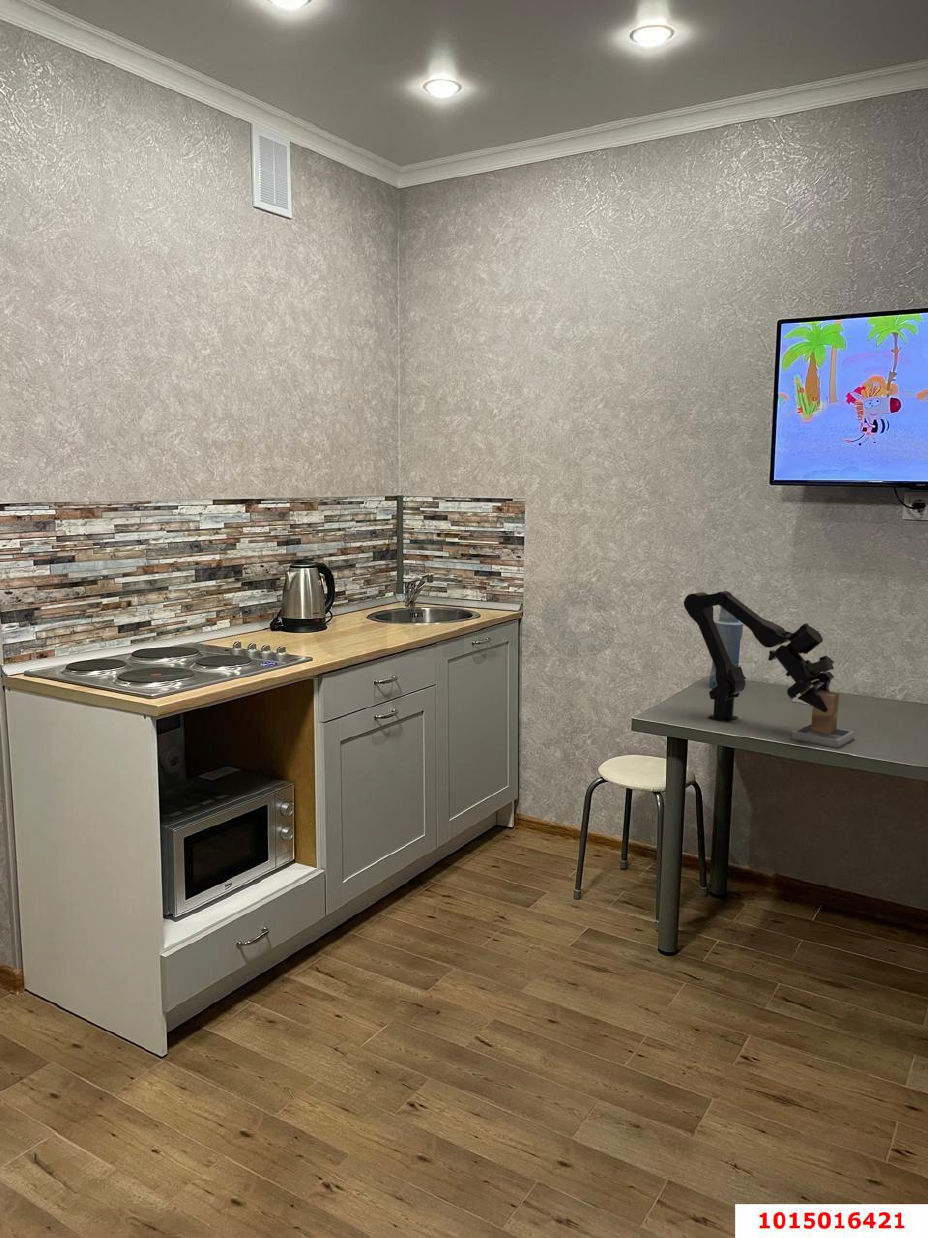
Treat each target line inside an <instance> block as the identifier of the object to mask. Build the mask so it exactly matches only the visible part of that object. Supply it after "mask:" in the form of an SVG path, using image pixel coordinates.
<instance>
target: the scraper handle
mask: <svg viewBox="0 0 928 1238" xmlns="http://www.w3.org/2000/svg"><path fill="white" fill-rule="evenodd" d="M818 694H819V696H820V697H821V699H822V701H823V702H824V704H825V706H826V707H827V709H828V711H826V712H823V711H821V710H819V709H817V708H816V707H814V706H812V713H811V722H810V723H811V732H813V733H818V734H823V735H827V736H829V735H831V734H834V733H836V728H837V725H838V714H839V703H840V693H838V692H833V691H830V692H828V691H823V690H821V691H818Z"/></svg>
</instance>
